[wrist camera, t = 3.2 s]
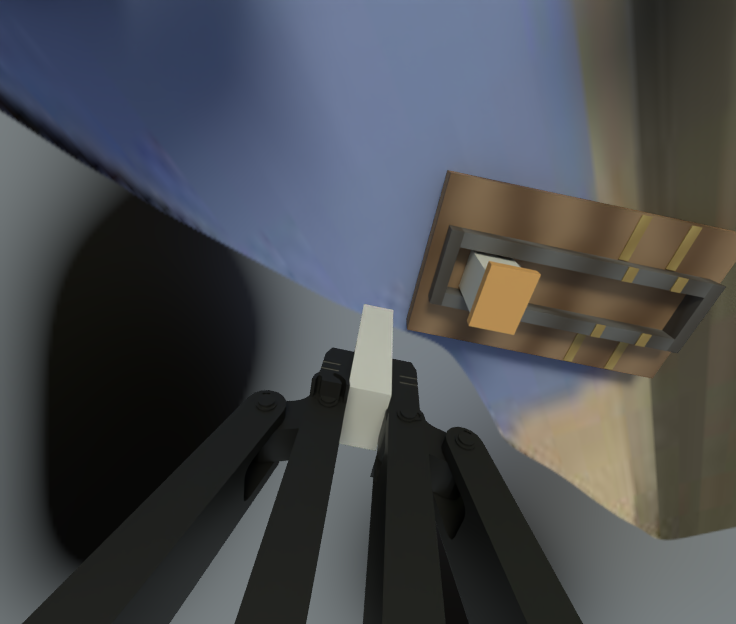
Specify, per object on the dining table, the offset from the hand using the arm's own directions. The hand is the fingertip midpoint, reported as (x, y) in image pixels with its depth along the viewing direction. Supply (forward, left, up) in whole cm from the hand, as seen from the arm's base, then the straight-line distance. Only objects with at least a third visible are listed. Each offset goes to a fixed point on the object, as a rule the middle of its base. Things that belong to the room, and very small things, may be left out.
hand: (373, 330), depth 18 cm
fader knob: (+9, 0, -13) cm, 16 cm away
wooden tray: (+16, 0, -15) cm, 22 cm away
